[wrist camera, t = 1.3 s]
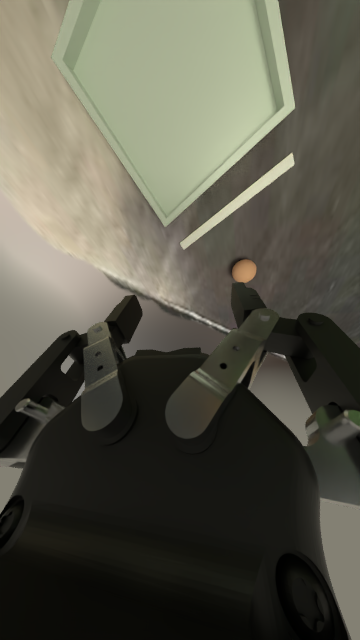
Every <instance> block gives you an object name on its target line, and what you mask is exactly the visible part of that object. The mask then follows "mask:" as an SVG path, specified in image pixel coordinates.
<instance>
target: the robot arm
mask: <svg viewBox="0 0 360 640" xmlns="http://www.w3.org/2000/svg"><path fill="white" fill-rule="evenodd" d="M231 307H232V311H233V314H234V317H235V320H236V324H237V327H238V329H237V328H233V329H232V330H231V331H230V332H229V333H228V335H227V336H226V337H225V338H224V339H223V341H222V342H221V343H220V344H219V345H218V346H217V348H216V349H215V350H214V351H213V352H212V354H211V355H208V354H204V353H201V348H183V349H179V350H175V351H171V352H161V351H156V350H137V352H136V354H135V355H134V356H132V357H129V358H127V357H126V355H125V352H124V349H123V347H122V346H121V345H122V344H126V343H129V342H130V340H131V338H132V336H133V334H134V332H135V330H136V328H137V326H138V324H139V321H140V319H141V317H142V309H141V306H140V304H139V302H138V299H137V297H136V296H135V295H130V296H125V297H124V299H123V300H122V301H121V303H119V304H118V305H117V306H116V307H115V308H114V310H113V311H112V312H111V313H110V315H109V316H108V317H107V318H106V320H105V321H104V322H99V323H97V324H95V325H93V326H92V327H90V328H89V329H88V332H87V333H85V334H81V335H79V334H78V333H77V331H75V330H71V331H68V332H66V333H64V334H62V335H61V336H59V337H58V338H57V339H56V340H55V341H54V342H53V344H52V345H51V346H50V347H49V348H48V349H47V350H46V351H45V352H44V353H43V354H42V355H41V356H40V357H39V358H38V359H37V360H36V361H35V362H34V363H33V364H32V365H31V366H30V368H29V369H28V370H27V371H26V372H25V373H24V374H23V375H22V376H21V377H20V378H19V379H18V380H17V381H16V382H15V383H14V384H13V385H12V386H11V387H10V388H9V389H8V390H7V391H6V393H5V394H4V395H3V396H2V397H1V398H0V467H8V466H9V467H15V468H23V471H22V473H21V476H20V478H19V481H18V483H17V485H16V487H15V489H14V491H13V493H12V495H11V497H10V499H9V501H8V503H7V505H6V506H5V508H4V510H3V511H2V512H1V514H0V640H351V637H350V635H349V632H348V630H347V627H346V624H345V621H344V619H343V616H342V613H341V610H340V608H339V605H338V602H337V599H336V597H335V593H334V591H333V587H332V584H331V581H330V577H329V574H328V570H327V565H326V561H325V556H324V551H323V546H322V538H321V531H320V501H323V502H327V503H332V504H336V505H342V506H346V507H350V508H356V509H360V348H359V347H358V346H357V345H356V344H355V343H354V342H353V341H352V340H351V339H350V338H349V337H348V336H347V335H346V334H345V333H344V332H343V331H342V330H341V329H340V328H339V327H338V326H337V325H336V324H335V323H334V322H333V321H332V320H331V319H330V318H328V317H326V316H324V315H321V314H317V313H303V314H300V315H299V316H298V318H297V320H295V319H286V318H281V317H279V315H278V313H277V312H275V311H273V310H271V309H267V307H266V306H265V304H264V303H263V301H262V299H260V296H259V295H258V293H257V292H256V290H254V289H252V288H246V287H245V285H244V283H243V282H238V283H232V292H231ZM268 352H273V353H278V354H283V355H285V357H286V359H287V361H288V363H289V366H290V368H291V370H292V372H293V374H294V376H295V378H296V380H297V382H298V384H299V387H300V389H301V391H302V393H303V395H304V397H305V399H306V401H307V403H308V405H309V408H310V410H311V412H312V415H311V416H310V417H309V418H308V419H307V421H306V424H305V428H306V432H307V436H308V444H307V446H302V444H301V442H300V441H299V440H298V438H297V437H296V436H295V435H294V434H293V433H292V431H291V430H290V429H288V428H287V427H286V426H285V425H284V424H283V423H282V422H281V421H280V420H279V419H278V418H277V417H276V416H275V415H274V414H273V413H272V412H271V411H270V410H269V409H268V408H267V407H266V406H265V405H264V404H263V403H262V402H261V401H260V400H259V399H258V398H257V397H256V396H255V395H254V394H253V393H251V391H250V390H249V389H250V387H251V385H252V383H253V381H254V378H255V376H256V374H257V371H258V370H259V368H260V366H261V364H262V363H263V361H264V359H265V357H266V355H267V353H268ZM68 355H69V356H70V357H71V358H72V359H73V360H74V363H73V364H72V366H71V367H70V368H69V370H68V371H67V373H66V374H64V373H63V372H62V371H61V364H62V363H63V362H64V360H65V359H66V358H67V356H68ZM84 380H85V390H84V391H83V392H82V394H81V396H79V397H78V398H77V399H75V400H74V401H73V399H74V398H75V396H76V394H77V393H78V391H79V389H80V387H81V386H82V384H83V382H84ZM72 401H73V402H72Z"/></svg>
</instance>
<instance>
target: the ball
mask: <svg viewBox="0 0 360 640" xmlns="http://www.w3.org/2000/svg"><path fill="white" fill-rule="evenodd" d="M255 274H256V265H255V264H254V262H252V261H251V260H248V259H244V260H240V261H239V262H237V263H236V264H235V265H234V267H233V270H232V275H233V278H234V279H235V280H236V281H237V282H243V283H245V282H248V281H250V280H251V279H252V278H253V277H254V276H255Z"/></svg>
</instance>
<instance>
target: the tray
mask: <svg viewBox="0 0 360 640" xmlns="http://www.w3.org/2000/svg"><path fill="white" fill-rule="evenodd" d="M51 58H52V60H53V61H54V63H55V64H56V66H57V67H58V68H59V70H60V71H61V73H62V74H63V76H64V77H65V79H66V80H67V82H68V83H69V85H70V86H71V88H72V89H73V91H74V92H75V94H76V95H77V97H78V98H79V100H80V101H81V103H82V104H83V106H84V107H85V109H86V110H87V112H88V113H89V115H90V116H91V118H92V119H93V121H94V122H95V124H96V125H97V127H98V128H99V129H100V131H101V132H102V134H103V135H104V137H105V138H106V140H107V141H108V143H109V144H110V146H111V147H112V149H113V150H114V152H115V153H116V155H117V156H118V158H119V159H120V161H121V162H122V164H123V165H124V167H125V168H126V170H127V171H128V173H129V174H130V176H131V177H132V179H133V180H134V182H135V183H136V185H137V186H138V188H139V189H140V190H141V192H142V193H143V195H144V196H145V198H146V199H147V201H148V202H149V204H150V205H151V207H152V208H153V210H154V211H155V213H156V214H157V216H158V217H159V219H160V220H161V222H162V223H163V225H164V226H165V227H166V226H167V225H169V224H170V223H171V222H172V221H173V220H174V219H175V218H176V217H177V216H178V215H179V214H181V213H182V212H183V211H184V210H185V209H186V208H187V207H188V206H189V205H190V204H191V203H193V202H194V201H195V200H196V199H197V198H198V197H199V196H200V195H201V194H202V193H203V192H205V191H206V190H207V189H208V188H209V187H210V186H211V185H212V184H213V183H214V182H215V181H216V180H218V179H219V178H220V177H221V176H222V175H223V174H224V173H225V172H226V171H227V170H228V169H230V168H231V167H232V166H233V165H234V164H235V163H236V162H237V161H238V160H239V159H240V158H242V157H243V156H244V155H245V154H246V153H247V152H248V151H249V150H250V149H251V148H252V147H253V146H255V145H256V144H257V143H258V142H259V141H260V140H261V139H262V138H263V137H264V136H265V135H267V134H268V133H269V132H270V131H271V130H272V129H273V128H274V127H275V126H276V125H277V124H279V123H280V122H281V121H282V120H283V119H284V118H285V117H286V116H287V115H288V114H289V113H290V112H291V111H292V110H294V109H295V103H294V97H293V91H292V85H291V78H290V72H289V66H288V60H287V53H286V47H285V41H284V35H283V29H282V22H281V16H280V10H279V4H278V0H70V1H69V4H68V7H67V10H66V13H65V16H64V19H63V22H62V25H61V28H60V32H59V35H58V38H57V41H56V44H55V47H54V50H53V53H52V56H51Z"/></svg>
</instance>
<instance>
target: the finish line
mask: <svg viewBox="0 0 360 640" xmlns="http://www.w3.org/2000/svg"><path fill="white" fill-rule="evenodd" d="M293 165H295V164H294V159H293V154H292V153H291V154H290V155H288V156H287V157H286V158H285V159H283V160H282V161H281V162H280V163H278V164H277V165H276V166H275V167H273V168H272V169H271V170H270V171H268V172H267V173H266V174H265V175H264V176H262V177H261V178H260V179H259V180H257V181H256V182H255V183H254V184H252V185H251V186H250V187H249V188H247V189H246V190H245V191H244V192H242V193H241V194H240V195H239V196H237V197H236V198H235V199H234V200H233V201H231V202H230V203H229V204H228V205H226V206H225V207H224V208H223V209H221V210H220V211H219V212H218V213H216V214H215V215H214V216H213V217H211V218H210V219H209V220H208V221H206V222H205V223H204V224H203V225H202V226H200V227H199V228H198V229H197V230H195V231H194V232H193V233H192V234H190V235H189V236H188V237H187V238H185V239H184V240H183V241H182V242H180V245H181V246H182V248H183V250H184V249H185V248H187V247H188V246H189V245H190V244H192V243H193V242H194V241H196V240H197V239H198V238H200V237H201V236H202V235H204V234H205V233H206V232H207V231H209V230H210V229H211V228H213V227H214V226H215V225H217V224H218V223H219V222H220V221H222V220H223V219H224V218H226V217H227V216H228V215H230V214H231V213H232V212H233V211H235V210H236V209H237V208H239V207H240V206H241V205H243V204H244V203H245V202H246V201H248V200H249V199H250V198H252V197H253V196H254V195H256V194H257V193H258V192H259V191H261V190H262V189H263V188H265V187H266V186H267V185H269V184H270V183H271V182H272V181H274V180H275V179H276V178H278V177H279V176H280V175H282V174H283V173H284V172H285V171H287V170H288V169H289V168H291V167H292V166H293Z"/></svg>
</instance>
